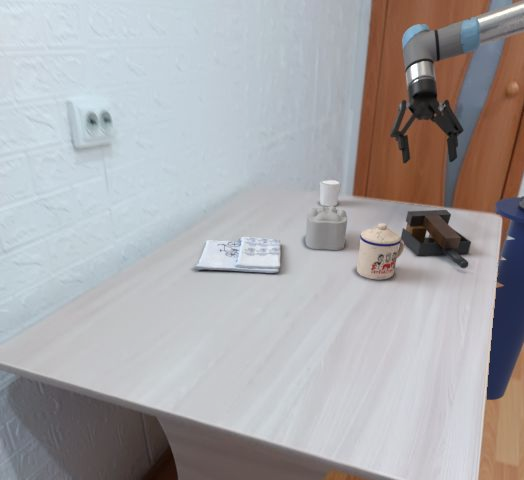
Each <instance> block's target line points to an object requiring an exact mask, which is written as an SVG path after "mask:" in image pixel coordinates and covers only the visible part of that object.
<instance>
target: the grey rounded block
mask: <svg viewBox="0 0 524 480" xmlns="http://www.w3.org/2000/svg"><path fill="white" fill-rule="evenodd" d="M347 225H348V216H347V212H346V210H345V209H338V208H337V207H336V206H323V205H319V206H318V207H316V208H310V209H309V210H308V212H307V215H306V227H305V238H304V239H305V245H306V247H308V248H309V249H311V250H329V251H330V250H331V251H339V250H342V249H344V248H345V243H346V235H347V227H348V226H347Z"/></svg>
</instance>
